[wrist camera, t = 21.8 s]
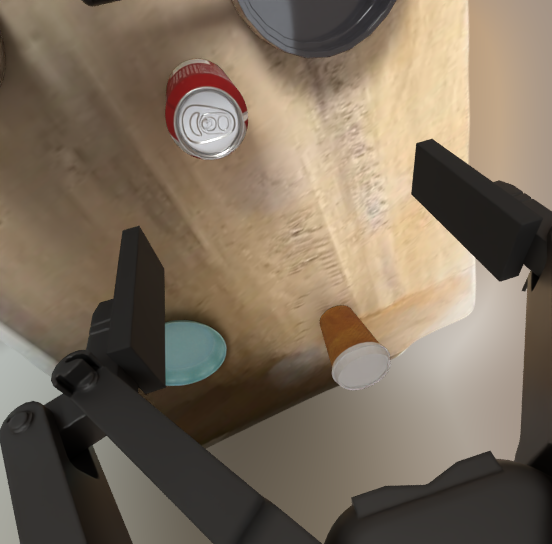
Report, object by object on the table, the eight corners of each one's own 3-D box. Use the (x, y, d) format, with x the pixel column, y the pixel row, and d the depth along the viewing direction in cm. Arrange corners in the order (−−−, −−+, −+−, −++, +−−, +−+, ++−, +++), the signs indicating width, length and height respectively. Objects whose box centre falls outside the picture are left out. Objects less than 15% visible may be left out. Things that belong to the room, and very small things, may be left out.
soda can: (160, 58, 35) (157, 78, 25) (229, 56, 36) (250, 75, 27) (172, 130, 39) (173, 170, 29) (234, 126, 40) (253, 164, 31)
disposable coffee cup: (350, 289, 60) (383, 341, 50) (367, 320, 66) (400, 372, 56) (302, 316, 61) (325, 373, 52) (323, 344, 67) (347, 399, 57)
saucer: (242, 338, 61) (245, 349, 59) (182, 383, 64) (182, 396, 62) (176, 295, 52) (177, 307, 50) (110, 350, 55) (108, 363, 53)
